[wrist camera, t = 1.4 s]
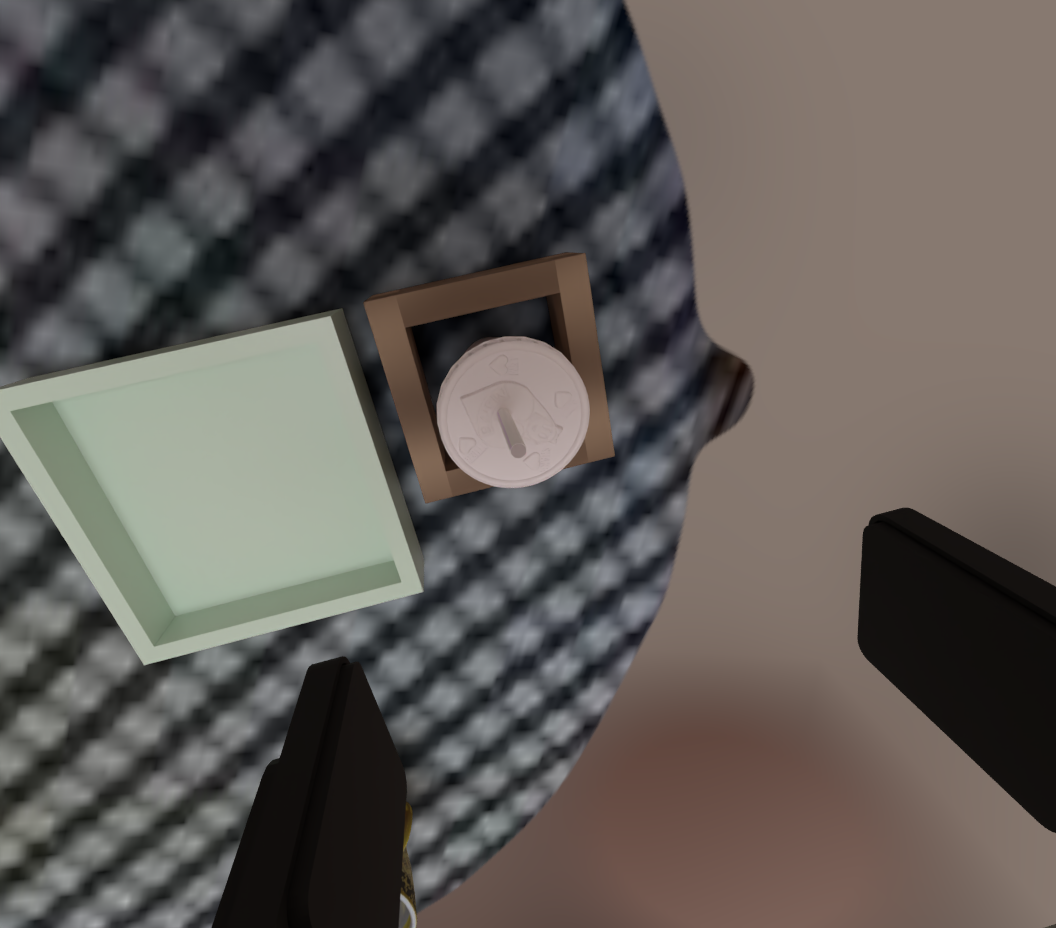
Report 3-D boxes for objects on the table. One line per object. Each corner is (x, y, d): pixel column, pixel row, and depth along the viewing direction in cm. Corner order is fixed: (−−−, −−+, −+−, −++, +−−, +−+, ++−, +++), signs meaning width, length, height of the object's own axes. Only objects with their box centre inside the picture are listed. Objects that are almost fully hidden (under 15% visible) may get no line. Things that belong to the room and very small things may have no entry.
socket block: (372, 295, 28) (363, 302, 25) (566, 252, 29) (585, 253, 26) (426, 474, 33) (425, 503, 29) (594, 433, 33) (614, 455, 30)
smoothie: (460, 292, 29) (481, 328, 16) (565, 339, 31) (658, 404, 18) (419, 400, 31) (408, 508, 18) (520, 438, 33) (576, 561, 20)
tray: (27, 377, 27) (-27, 395, 24) (342, 308, 28) (330, 315, 25) (171, 625, 34) (144, 665, 30) (424, 560, 35) (423, 591, 32)
